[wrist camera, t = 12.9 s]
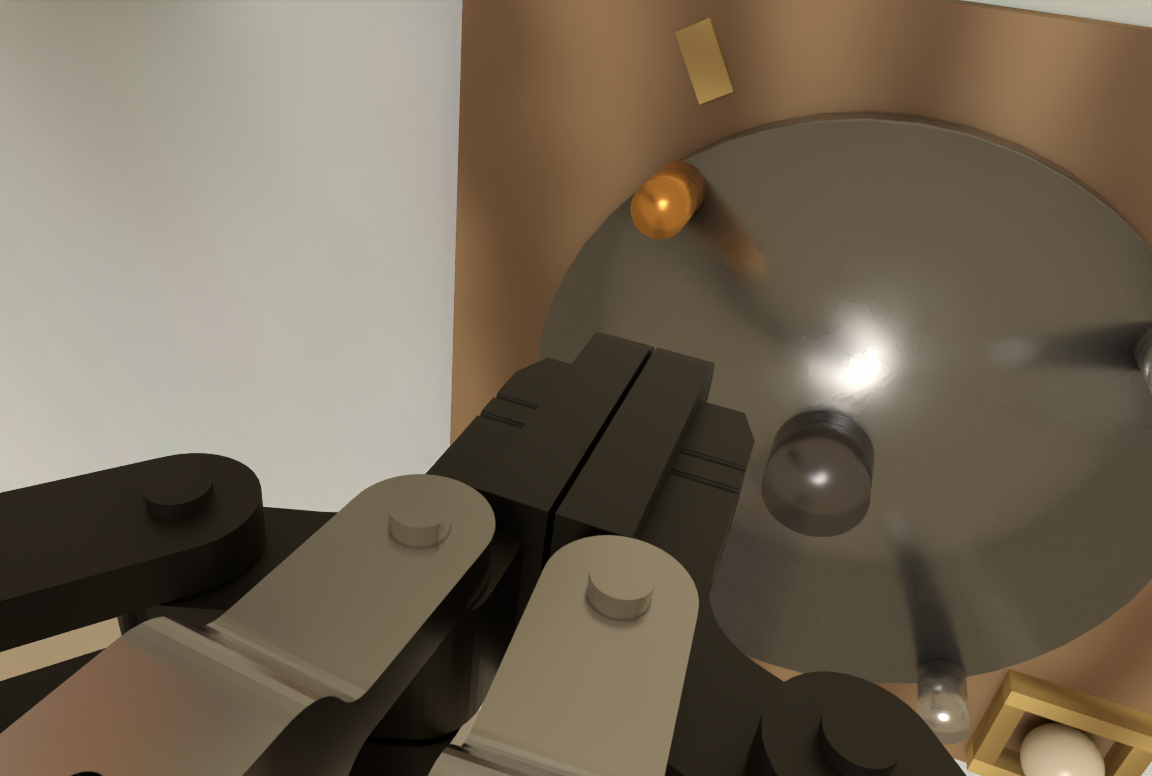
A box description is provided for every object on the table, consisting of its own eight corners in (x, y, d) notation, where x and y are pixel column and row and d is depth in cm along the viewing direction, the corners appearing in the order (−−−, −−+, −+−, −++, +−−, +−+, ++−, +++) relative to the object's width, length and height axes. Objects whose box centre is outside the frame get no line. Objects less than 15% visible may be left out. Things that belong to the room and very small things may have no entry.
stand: (459, 561, 45) (435, 594, 43) (483, -69, 30) (447, -67, 28) (1105, 784, 38) (1116, 838, 36) (1599, 92, 22) (1674, 112, 20)
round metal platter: (894, 737, 38) (890, 817, 35) (470, 455, 39) (427, 507, 36) (1400, 379, 25) (1473, 453, 22) (741, -35, 26) (713, -26, 22)
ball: (1006, 742, 37) (1011, 802, 34) (1032, 697, 35) (1040, 756, 33) (1080, 768, 36) (1092, 831, 33) (1111, 723, 34) (1125, 785, 32)
